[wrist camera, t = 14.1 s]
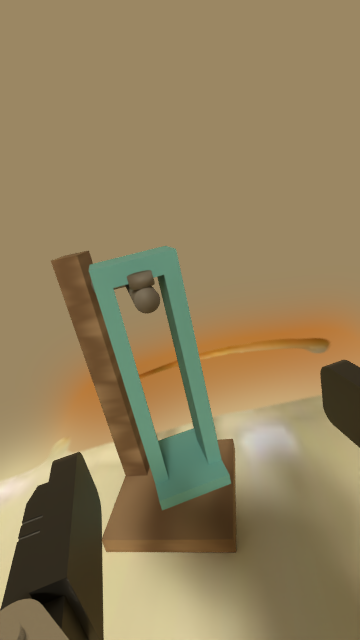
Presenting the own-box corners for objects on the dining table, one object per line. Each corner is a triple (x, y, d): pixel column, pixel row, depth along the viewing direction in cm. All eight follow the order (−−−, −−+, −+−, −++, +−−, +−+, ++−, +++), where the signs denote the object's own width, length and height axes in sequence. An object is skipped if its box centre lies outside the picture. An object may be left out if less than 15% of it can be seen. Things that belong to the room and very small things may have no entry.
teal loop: (204, 433, 33) (161, 244, 27) (231, 483, 27) (182, 250, 21) (148, 453, 32) (89, 262, 26) (162, 510, 26) (88, 274, 20)
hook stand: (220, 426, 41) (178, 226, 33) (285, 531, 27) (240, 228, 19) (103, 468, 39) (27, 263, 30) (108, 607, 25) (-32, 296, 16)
